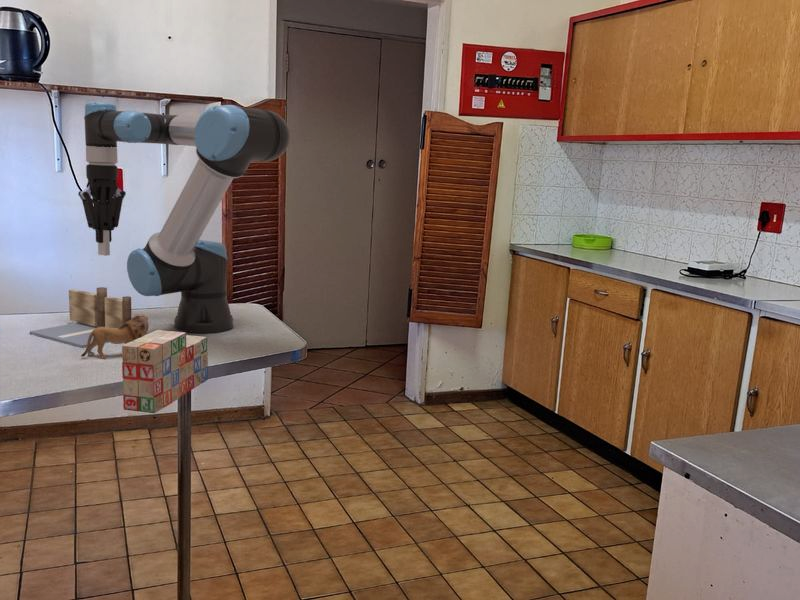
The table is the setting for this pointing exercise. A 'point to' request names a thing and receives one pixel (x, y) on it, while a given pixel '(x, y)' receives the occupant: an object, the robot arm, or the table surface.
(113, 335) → the lion figurine
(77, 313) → the hinged fence panel
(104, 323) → the fence post and fixed section
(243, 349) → the table surface
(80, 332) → the card
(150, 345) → the stack of blocks
